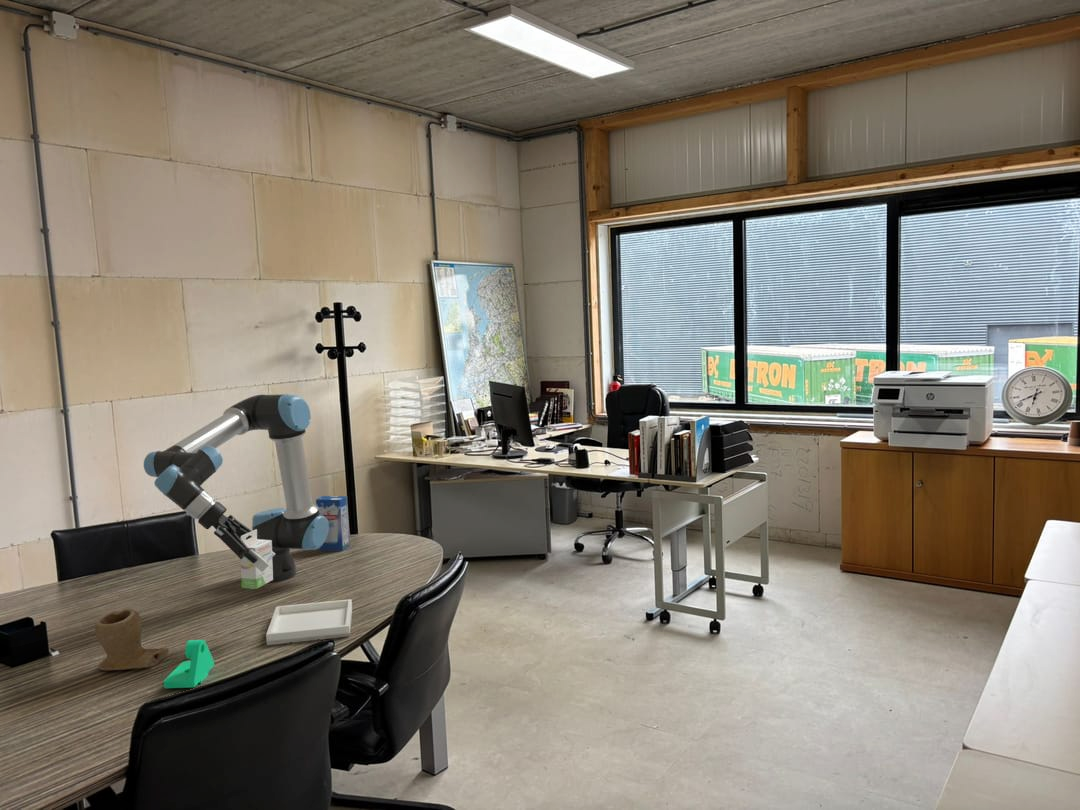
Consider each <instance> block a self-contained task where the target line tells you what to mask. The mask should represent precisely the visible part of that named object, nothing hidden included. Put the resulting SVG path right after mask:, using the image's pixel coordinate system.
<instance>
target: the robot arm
mask: <svg viewBox="0 0 1080 810" xmlns="http://www.w3.org/2000/svg"><path fill="white" fill-rule="evenodd" d="M311 415H312V414H311V410H310V406H309V404H308V403H307V401H306V400H305V399H304V398H302V397H301V396H299V395H294V394H290V393H289V394H288V393H287V394H286V393H285V394H283V393H281V394H257V395H253V396H250V397H247V398H246V399H243V400H240V401H239V402H236V404H233V405H231V406H230V407H228V408H226V409H225V410H224V411H223V414H222V415H221V416H220V417H217V418H216V419H214V420H213V421H211V422H210V423H208V424H207V425H204V426H203V427H201V428H199V429H198V430H196V431H195V432H193V433H192V434H190V435H188V436H186V437H185V438H184V439H182V440H180V441H179V442H177V443H175V444H173V445H172V446H170V447H168V448H166V449H165V450H163V451H161V450H156V451H152V452H149V453H147V455H146V456H145V457H144V460H143V468H144V469H143V470H144V471H145V473H146V475H148V476H149V477H152V478H156V479H155V480H154V486H155V488H157V489H158V491H160V492H161V493H162V494H163V495H164V496H166V497H167V498H168V499H169V500H171V501H172V502H173V503H174V504H175V505H176V506H178V507H180V509H182V511H184V512H185V513H186V516H187V517H189V516H190V517H191V518H193V519H194V520H197V523H198V524H200V526H202V527H203V528H205V530H209V529H211V527H213V528H214V529H215V530H214V531H213V535H215V536H216V537H218V538H219V539H220V540H221V541H222V542H223V543H224V544H225V545H226V546H227V547H228V548H229V549H230V551H232V552H233V553H234V554H235V555H236V556H237V557H238V558H239V560H241V559H242V558H243V557H244V558H246V559H247V560H248V561H249V562H250V563H252V564H253V565H254V566H255V567H256V568H258V569H259V570H260V571H261V572H263V571H264V570H265V569H266V568H267V567H268V566H269V565H270V564H269V563H267V562H266V561H265V560H264V559H263V558H261V557H260V556H259V555H258V554H257V553H255V552H254V551H253V550H252V549H251V550H249V548H248V547H247V546H246V545H245V544H244V542H243V541H242V540H241V539H240V538H241V536H242V535H244V534H246V533H249V532H251V531H253V530H256V529H257V540H258V539H261V540H272V564H273V580H272V581H270V582H269V583H273V582H281V581H284V580H288V579H290V578H293V577H294V576H296V574H297V566H296V564H295V562H294V559H293V556H292V554H291V551H290V549H291V550H292V549H294V550H303V551H309V550H310V551H315V550H317V549H318V550H319V548H320V547H321V546H322V545H323V543H324V542H325V540H326V537H327V535H328V530H329V524H328V520H327V519H326V518H325V517H324V516H322V515H319V509H318V507H317V506H316V504H314V503H313V497H312V491H311V490H312V489H311V485H310V478H309V472H308V467H307V461H306V454H305V449H304V443H303V436H304V435H305V434H306V433H307V431H306V429H307V428H308V427H309V426H310V424H311V423H310V420H311V419H312V416H311ZM257 430H258V431H259V430H262V431H264V430H265V431H267V433H268V438H269V440H271V441H273V442H274V445H275V449H276V455H277V460H278V467H279V473H280V479H281V484H282V489H283V494H284V499H285V501H284V502H285V506H286V508H285V507H279V508H272V509H267V510H263V511H260V512H257V513H255V514H253V516H252V518H251V520H252V521H251V522H252V523H251V524H252V525H251V529H252V530H251V529H250V528H249V527H247V526H246V525H244V524H243V523H242V522H241V521H239V520H237V519H236V518H235V517H234V515H232V514H229V515H228V516H226V515H224V514H225V513H226V512H227V507H225V506H224V505H223V504H222V503H221V502H220V501H215V500H216V497H215V496H213V495H211V494H210V493H209V492H208V491H206V490H205V489H204V488H203V487H202V484H204V483H205V482H206V481H207V480H208V479H209V478H211V476H213V475H214V474H216V472H217V471H218V469H219V468H220V467H221V466H222V464H223V461H224V459H223V456H222V454H221V452H220V451H219V450H218V449H217V448H219V447H220V446H221V445H224V444H225V443H226V442H228V441H229V440H231V439H233V438H234V437H235V436H242V435H244V434H246V433H248V432H250V431H251V432H252V431H257ZM251 537H252V536H248V537H247V538H246V540H247V539H249V538H251Z"/></svg>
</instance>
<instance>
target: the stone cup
mask: <svg viewBox="0 0 1080 810" xmlns="http://www.w3.org/2000/svg"><path fill="white" fill-rule="evenodd" d="M142 628H143V627H142V620H141V616H140V614H139V613H138V612H137V610H135V609H133V608H124V609H121V610H113V611H110V612H108V613H106V614H104V615H102V616H100V617H99V618H98V619H97V620H96V621H95V623H94V631H95V636H96V638H97V639H98V642H99V644H100V645H101V647H102V648H103V650H104V652H105V654H106V658H104V659H103V660H102V661H100V663H99V665H98V669H99V670H102V671H121V670H122V671H123V670H124V671H125V670H134V669H135V670H136V669H143V668H144V669H145V668H151V667H154V666H157V664H159V663H161V662H162V661H163V660H164V659H165V658H166V657H167V655H168V654H169V652H170V649H169V648H167V647H164V648H163V647H161V648H144V647H143V646H142V632H143V631H142Z"/></svg>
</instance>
